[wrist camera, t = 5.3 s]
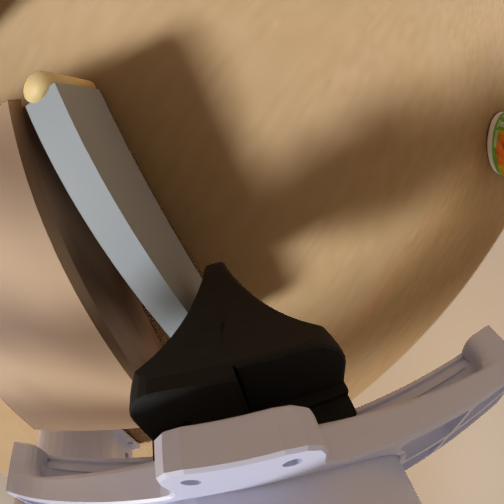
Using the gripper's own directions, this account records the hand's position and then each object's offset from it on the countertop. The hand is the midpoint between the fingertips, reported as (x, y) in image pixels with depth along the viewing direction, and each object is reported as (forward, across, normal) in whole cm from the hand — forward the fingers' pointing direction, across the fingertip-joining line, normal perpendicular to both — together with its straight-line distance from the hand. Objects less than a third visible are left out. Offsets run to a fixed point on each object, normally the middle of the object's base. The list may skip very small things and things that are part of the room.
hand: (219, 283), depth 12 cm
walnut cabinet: (+3, +10, -2) cm, 10 cm away
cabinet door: (+3, +2, -3) cm, 4 cm away
